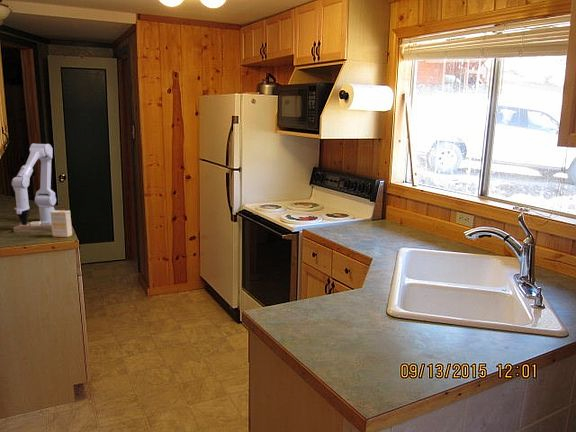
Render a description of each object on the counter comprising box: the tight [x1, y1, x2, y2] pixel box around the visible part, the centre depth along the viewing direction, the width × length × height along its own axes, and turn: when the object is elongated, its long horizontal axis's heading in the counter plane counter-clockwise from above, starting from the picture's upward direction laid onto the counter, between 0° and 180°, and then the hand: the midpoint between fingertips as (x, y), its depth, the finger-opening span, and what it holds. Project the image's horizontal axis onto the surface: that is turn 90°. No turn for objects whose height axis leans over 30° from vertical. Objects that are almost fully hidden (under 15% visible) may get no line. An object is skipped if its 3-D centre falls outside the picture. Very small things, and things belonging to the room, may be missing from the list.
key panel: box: [13, 221, 52, 234], centre depth 262 cm, size 13×18×2 cm
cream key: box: [30, 220, 41, 226], centre depth 261 cm, size 4×4×2 cm
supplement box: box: [50, 209, 73, 238], centre depth 247 cm, size 8×5×13 cm, turn 84°
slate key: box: [42, 221, 52, 225], centre depth 263 cm, size 4×4×2 cm
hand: (24, 224), depth 260 cm, fingers closed, pressing on terracotta key
